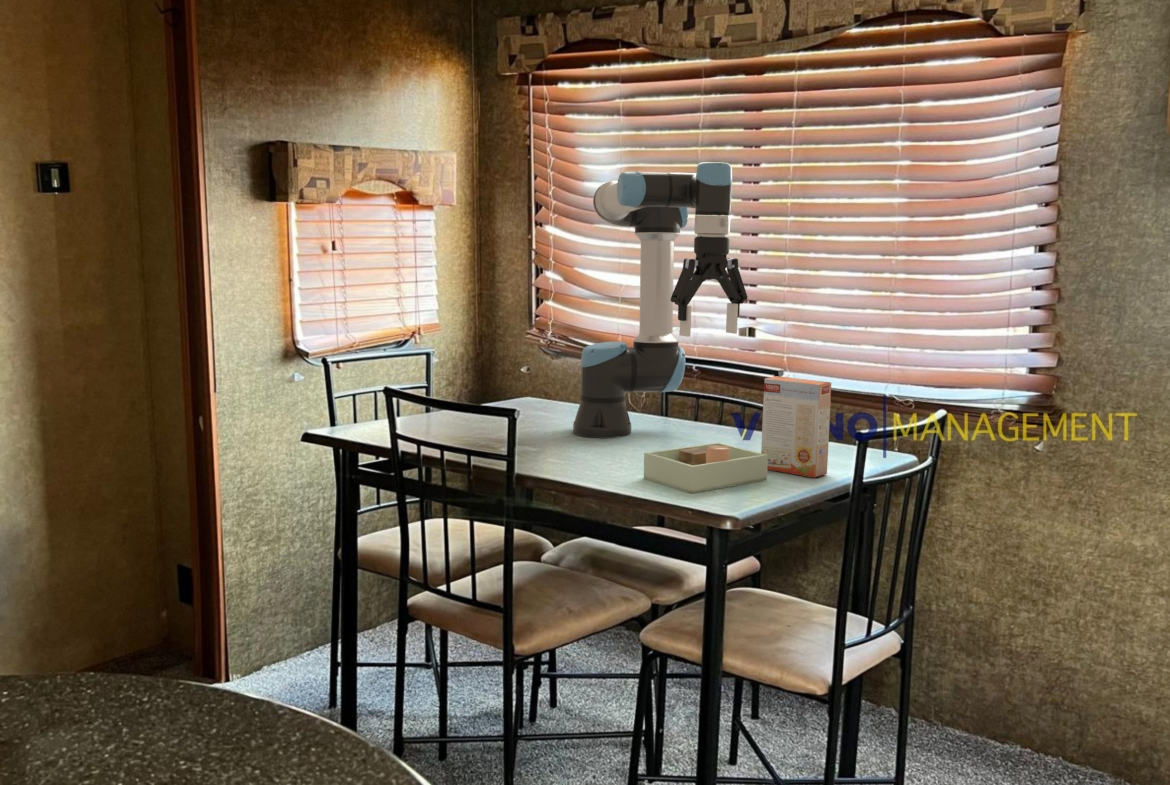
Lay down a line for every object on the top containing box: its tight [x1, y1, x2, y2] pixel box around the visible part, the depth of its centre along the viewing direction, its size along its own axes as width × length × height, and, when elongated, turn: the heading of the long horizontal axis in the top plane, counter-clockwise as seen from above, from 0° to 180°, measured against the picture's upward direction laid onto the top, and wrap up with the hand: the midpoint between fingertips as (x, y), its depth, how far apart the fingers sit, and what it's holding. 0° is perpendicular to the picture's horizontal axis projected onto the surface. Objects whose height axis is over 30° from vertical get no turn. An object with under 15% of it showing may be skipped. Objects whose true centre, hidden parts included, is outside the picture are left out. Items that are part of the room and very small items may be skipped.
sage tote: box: [643, 442, 768, 494], centre depth 241 cm, size 16×22×6 cm
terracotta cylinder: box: [706, 445, 730, 463], centre depth 238 cm, size 5×5×7 cm
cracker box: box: [760, 375, 832, 479], centre depth 249 cm, size 14×6×21 cm, turn 49°
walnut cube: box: [679, 448, 706, 465], centre depth 244 cm, size 5×5×5 cm
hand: (708, 334), depth 243 cm, fingers open, 13 cm apart
